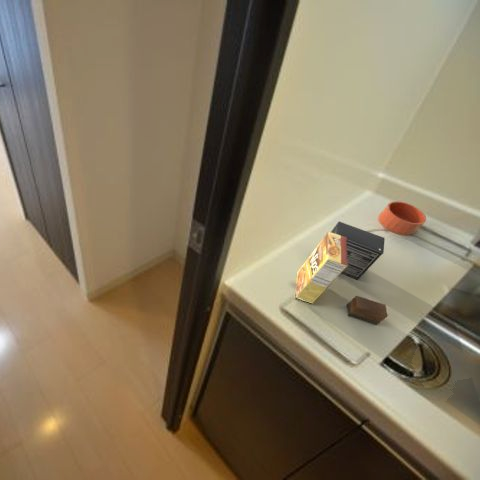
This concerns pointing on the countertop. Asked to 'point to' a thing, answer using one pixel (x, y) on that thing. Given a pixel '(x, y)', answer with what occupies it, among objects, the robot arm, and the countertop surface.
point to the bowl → (401, 218)
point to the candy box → (322, 267)
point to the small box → (359, 249)
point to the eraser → (366, 310)
